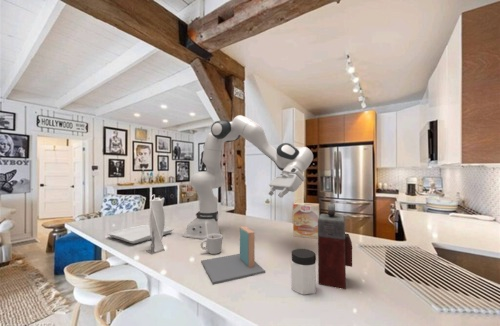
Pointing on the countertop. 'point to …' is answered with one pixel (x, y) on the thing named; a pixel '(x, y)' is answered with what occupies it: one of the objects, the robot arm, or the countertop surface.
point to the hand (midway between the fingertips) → (274, 195)
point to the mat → (229, 268)
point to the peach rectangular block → (247, 246)
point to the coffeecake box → (305, 220)
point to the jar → (303, 271)
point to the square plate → (136, 233)
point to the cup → (213, 243)
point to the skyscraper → (156, 225)
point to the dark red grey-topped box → (333, 249)
